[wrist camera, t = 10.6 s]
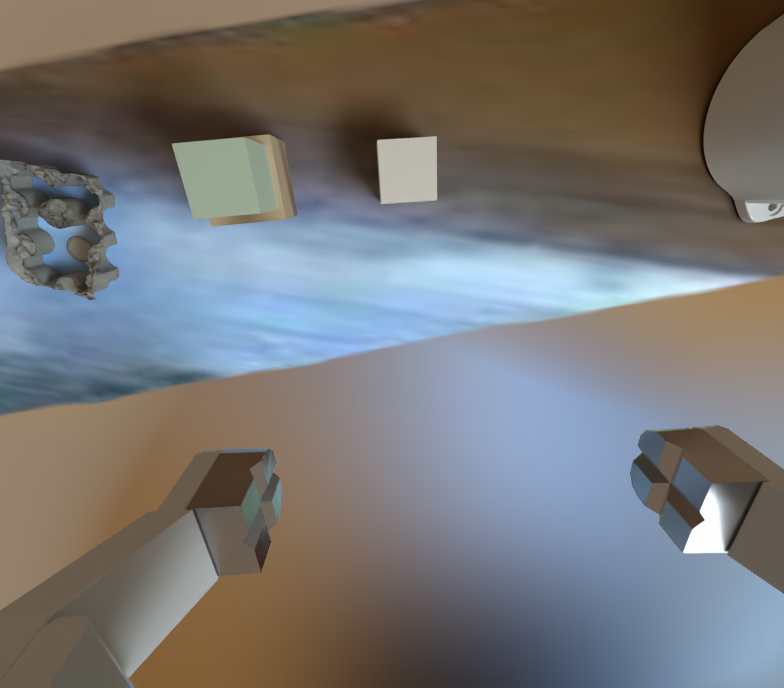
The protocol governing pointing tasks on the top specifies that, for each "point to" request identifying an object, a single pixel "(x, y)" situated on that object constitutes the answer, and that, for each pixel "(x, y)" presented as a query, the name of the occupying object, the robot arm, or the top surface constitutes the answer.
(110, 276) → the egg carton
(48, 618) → the robot arm
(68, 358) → the top surface
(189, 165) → the green cube
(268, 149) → the oak block
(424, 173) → the cream cube
